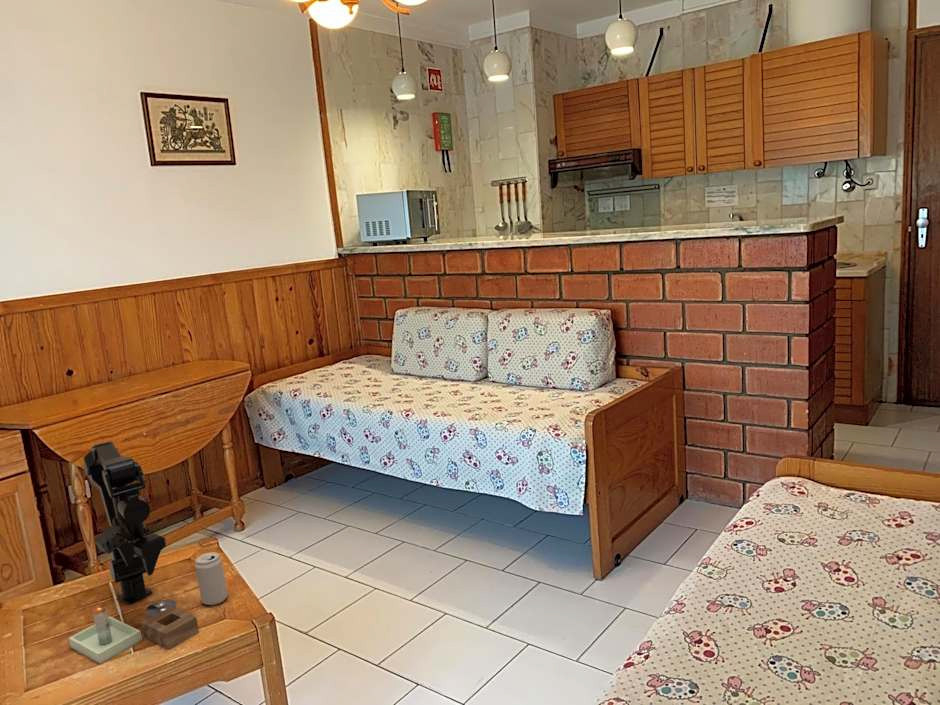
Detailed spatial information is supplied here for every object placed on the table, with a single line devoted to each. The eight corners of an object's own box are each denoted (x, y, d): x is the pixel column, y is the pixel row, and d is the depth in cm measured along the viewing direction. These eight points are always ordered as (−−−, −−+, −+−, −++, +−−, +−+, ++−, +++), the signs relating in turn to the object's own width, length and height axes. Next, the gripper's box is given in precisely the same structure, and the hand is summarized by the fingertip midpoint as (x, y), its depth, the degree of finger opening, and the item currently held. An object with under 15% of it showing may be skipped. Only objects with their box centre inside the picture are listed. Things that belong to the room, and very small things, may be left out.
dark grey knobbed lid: (141, 618, 185) (139, 607, 184) (167, 605, 190) (165, 593, 189) (157, 626, 181) (155, 614, 180) (183, 612, 186) (181, 600, 185)
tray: (70, 647, 175) (68, 638, 174) (112, 625, 183) (110, 616, 182) (100, 664, 167) (98, 654, 167) (142, 640, 175) (140, 630, 175)
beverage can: (219, 607, 187) (212, 563, 184) (196, 606, 188) (189, 563, 186) (232, 594, 193) (225, 551, 190) (210, 593, 194) (202, 551, 192)
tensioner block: (144, 637, 176) (141, 622, 175) (174, 620, 182) (171, 605, 182) (168, 649, 170) (165, 634, 170) (198, 631, 177) (196, 616, 176)
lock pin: (97, 643, 175) (89, 608, 173) (108, 637, 177) (101, 603, 175) (103, 646, 173) (95, 611, 171) (114, 640, 175) (107, 605, 173)
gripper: (76, 516, 178) (88, 576, 181) (116, 532, 167) (129, 595, 170) (120, 499, 187) (131, 556, 190) (162, 513, 176) (173, 573, 179)
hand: (140, 570), depth 182 cm, fingers open, 9 cm apart
